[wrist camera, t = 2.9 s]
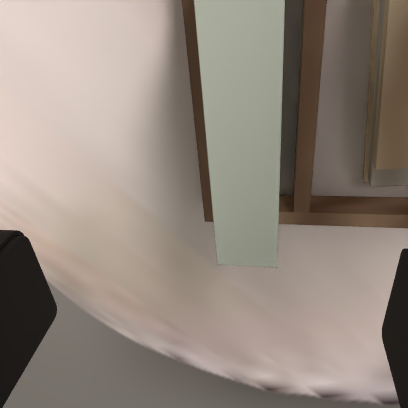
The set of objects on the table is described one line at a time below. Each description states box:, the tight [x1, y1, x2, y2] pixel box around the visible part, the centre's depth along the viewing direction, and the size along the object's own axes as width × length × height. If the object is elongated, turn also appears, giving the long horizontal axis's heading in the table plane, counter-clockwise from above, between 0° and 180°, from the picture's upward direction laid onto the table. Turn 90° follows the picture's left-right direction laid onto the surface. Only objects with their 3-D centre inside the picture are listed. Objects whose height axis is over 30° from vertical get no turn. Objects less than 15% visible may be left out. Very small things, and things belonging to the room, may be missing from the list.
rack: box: [182, 0, 408, 228], centre depth 21 cm, size 16×19×2 cm
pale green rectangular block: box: [194, 0, 285, 268], centre depth 19 cm, size 3×14×9 cm, turn 5°
